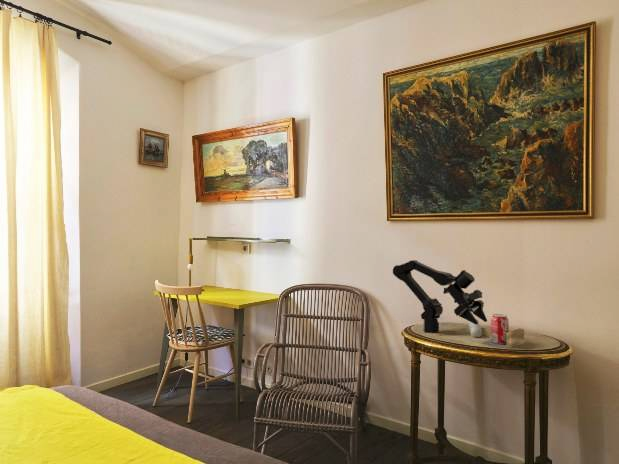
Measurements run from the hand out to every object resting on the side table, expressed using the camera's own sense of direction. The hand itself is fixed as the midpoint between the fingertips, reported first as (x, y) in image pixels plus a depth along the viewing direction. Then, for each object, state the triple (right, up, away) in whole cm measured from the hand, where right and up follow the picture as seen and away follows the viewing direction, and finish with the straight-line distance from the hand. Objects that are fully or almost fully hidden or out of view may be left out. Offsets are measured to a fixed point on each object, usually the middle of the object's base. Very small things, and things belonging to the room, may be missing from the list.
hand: (481, 322), depth 194 cm
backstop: (+11, -8, -8) cm, 16 cm away
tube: (+3, -9, +18) cm, 20 cm away
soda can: (+5, -8, -6) cm, 11 cm away
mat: (+5, -8, -6) cm, 11 cm away
